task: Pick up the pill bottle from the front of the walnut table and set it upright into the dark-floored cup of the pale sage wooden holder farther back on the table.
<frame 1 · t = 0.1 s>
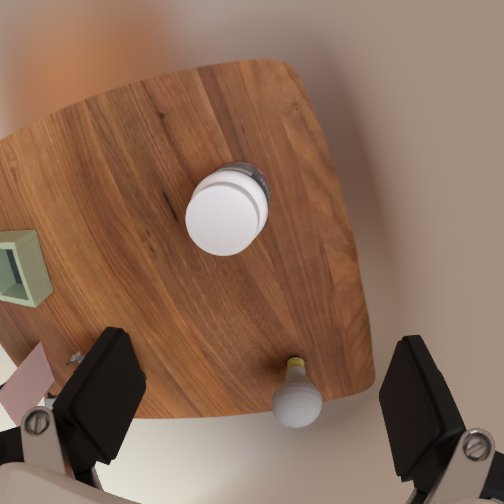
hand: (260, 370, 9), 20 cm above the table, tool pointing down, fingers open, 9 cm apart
holder: (10, 259, 34), on the table
light bulb: (295, 358, 35), on the table
pill bottle: (240, 189, 28), on the table
greeting card: (45, 361, 43), on the table
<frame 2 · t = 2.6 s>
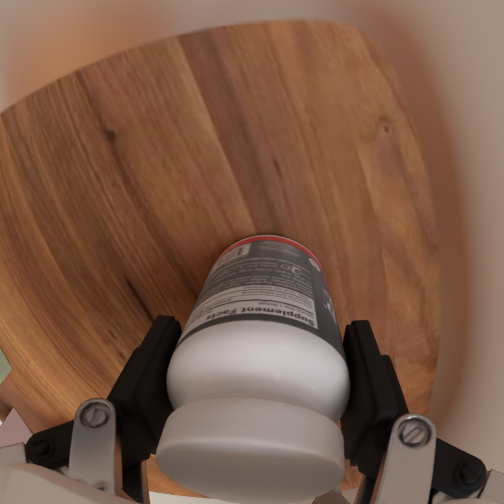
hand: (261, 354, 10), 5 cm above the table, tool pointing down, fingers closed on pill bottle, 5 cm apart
light bulb: (327, 464, 23), on the table
pill bottle: (268, 283, 15), on the table, touching gripper
greeting card: (23, 423, 31), on the table
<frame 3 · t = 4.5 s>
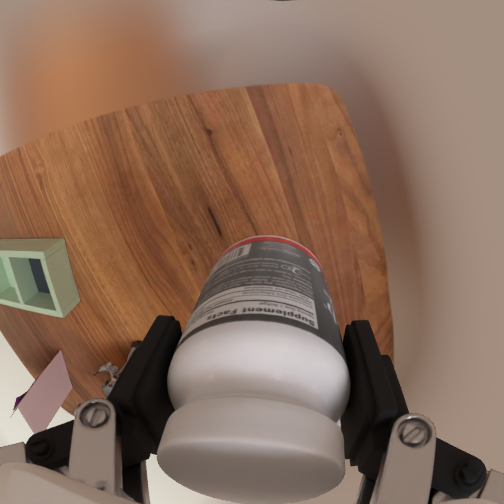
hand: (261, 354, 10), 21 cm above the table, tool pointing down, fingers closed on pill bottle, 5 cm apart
figurine: (143, 362, 40), on the table
holder: (32, 267, 35), on the table
pill bottle: (268, 283, 15), point 16 cm above the table, touching gripper
greeting card: (64, 369, 44), on the table
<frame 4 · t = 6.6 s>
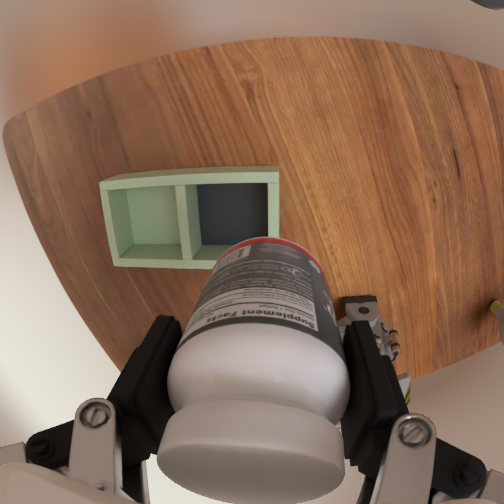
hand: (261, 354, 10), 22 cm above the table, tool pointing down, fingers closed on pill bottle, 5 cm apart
figurine: (338, 324, 36), on the table
holder: (195, 210, 32), on the table
light bulb: (492, 303, 33), on the table
pill bottle: (268, 284, 15), point 17 cm above the table, touching gripper
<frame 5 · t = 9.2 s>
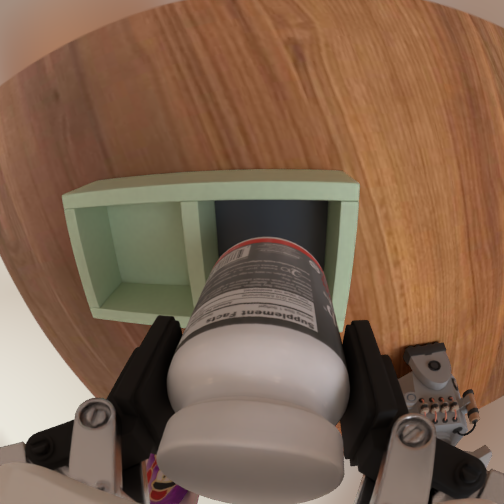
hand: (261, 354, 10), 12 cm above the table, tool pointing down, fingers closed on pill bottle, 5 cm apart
figurine: (393, 375, 26), on the table
holder: (212, 236, 21), on the table
pill bottle: (268, 285, 15), point 7 cm above the table, touching gripper
greeting card: (207, 414, 30), on the table
when the fingers open (6 cm above the table, at t = 11.0 s): pill bottle stays where it is, resting on holder.
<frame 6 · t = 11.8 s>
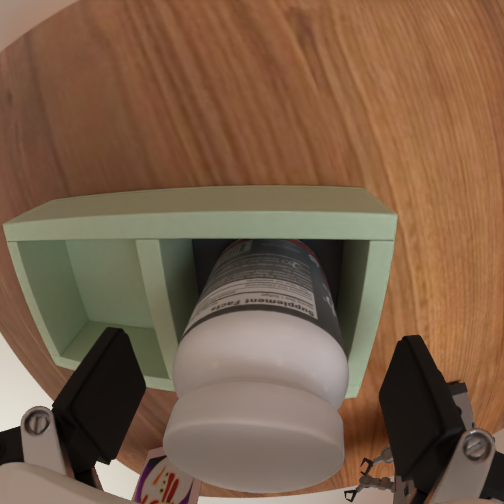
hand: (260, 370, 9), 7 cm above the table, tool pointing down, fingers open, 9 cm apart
figurine: (406, 417, 21), on the table
holder: (190, 272, 16), on the table
pill bottle: (269, 279, 15), point 1 cm above the table, touching holder
greeting card: (198, 452, 25), on the table
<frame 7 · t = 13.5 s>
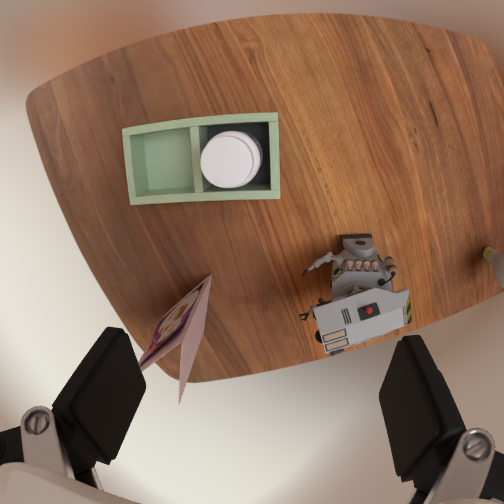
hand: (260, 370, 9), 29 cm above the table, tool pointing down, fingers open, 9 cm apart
figurine: (338, 264, 40), on the table
holder: (206, 155, 35), on the table
light bulb: (484, 250, 36), on the table
pill bottle: (240, 154, 34), point 1 cm above the table, touching holder
greeting card: (201, 306, 44), on the table
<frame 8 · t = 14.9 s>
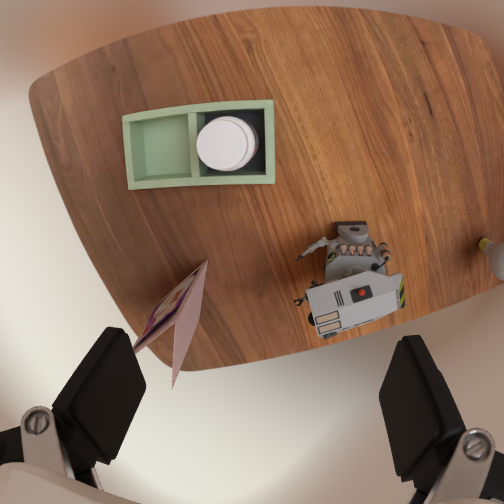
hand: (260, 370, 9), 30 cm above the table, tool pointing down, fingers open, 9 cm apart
figurine: (333, 251, 40), on the table
holder: (203, 142, 35), on the table
light bulb: (481, 242, 37), on the table
pill bottle: (236, 141, 34), point 1 cm above the table, touching holder
greeting card: (196, 292, 45), on the table
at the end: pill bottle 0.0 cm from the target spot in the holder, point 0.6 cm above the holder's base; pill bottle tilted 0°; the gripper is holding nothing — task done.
